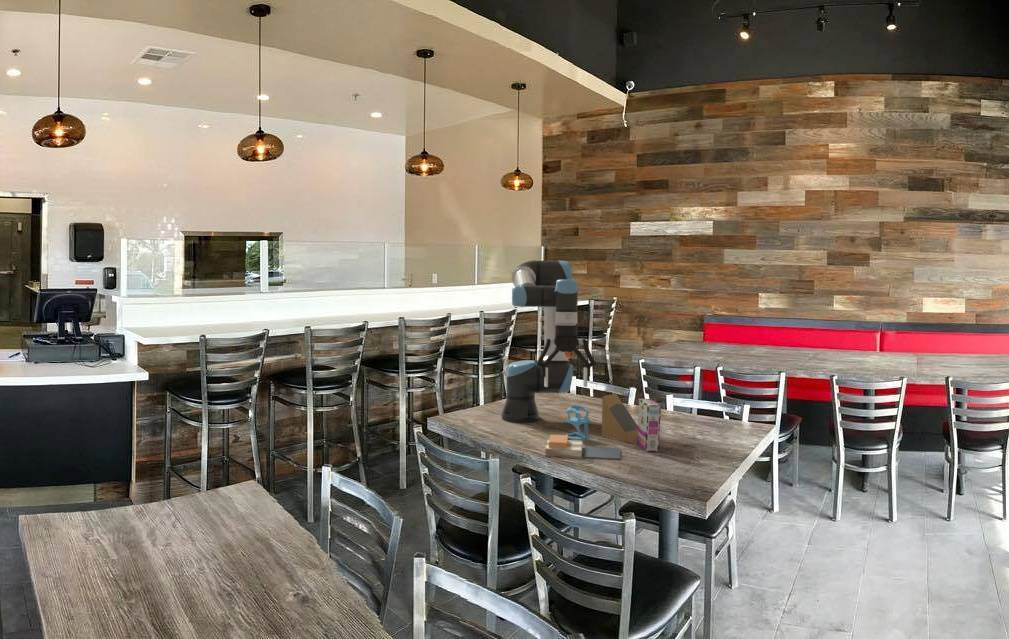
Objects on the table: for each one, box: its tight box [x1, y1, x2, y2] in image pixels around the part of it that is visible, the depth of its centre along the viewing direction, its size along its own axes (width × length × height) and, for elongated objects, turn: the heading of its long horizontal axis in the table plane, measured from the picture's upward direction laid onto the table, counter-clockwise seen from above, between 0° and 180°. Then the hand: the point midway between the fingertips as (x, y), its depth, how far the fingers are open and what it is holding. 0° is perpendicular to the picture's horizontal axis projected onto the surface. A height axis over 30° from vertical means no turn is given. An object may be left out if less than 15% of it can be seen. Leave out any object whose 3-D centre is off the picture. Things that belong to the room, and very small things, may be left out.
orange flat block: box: [548, 434, 569, 449], centre depth 237 cm, size 9×6×2 cm, turn 172°
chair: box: [564, 405, 591, 442], centre depth 253 cm, size 8×8×12 cm
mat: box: [583, 445, 622, 460], centre depth 236 cm, size 12×12×1 cm
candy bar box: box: [636, 398, 662, 453], centre depth 242 cm, size 11×5×16 cm, turn 5°
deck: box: [544, 438, 583, 459], centre depth 237 cm, size 12×12×2 cm
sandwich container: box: [601, 393, 638, 444], centre depth 255 cm, size 9×15×15 cm, turn 43°
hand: (565, 386), depth 237 cm, fingers open, 13 cm apart
